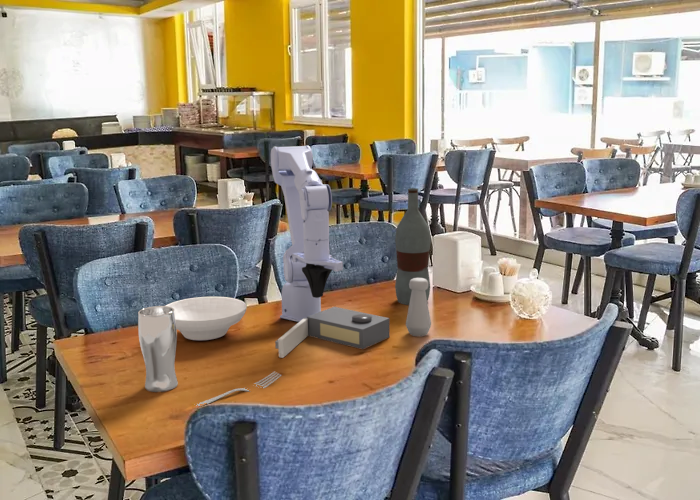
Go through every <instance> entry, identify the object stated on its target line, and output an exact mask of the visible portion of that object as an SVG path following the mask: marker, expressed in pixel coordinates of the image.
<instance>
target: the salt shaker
mask: <svg viewBox="0 0 700 500" xmlns="http://www.w3.org/2000/svg"><path fill="white" fill-rule="evenodd" d="M409 287H410V289H412V292H411V298H410V303H409V305H408V309H407V316H406V320H405V326H406V329H407V331H408V334H409V335H411V336H413V337H424V336H427V335H428V334H429V331H430V329H431V326H432V321H431V315H430V310H429V305H428V301H427V298H426V292H425V290H426V289H428V281H427V280H426V279H424V278H413V279H411V280H410V283H409Z"/></svg>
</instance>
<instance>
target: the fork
mask: <svg viewBox="0 0 700 500" xmlns="http://www.w3.org/2000/svg"><path fill="white" fill-rule="evenodd" d="M280 377H282V374H280V373H278V372H276V371H272V373H270V374H269V375H267V376H265V377H264V378H262V379H260V380H258V381H256V382H254V383H253V384H256V386H255V387H258V386H257V385H259V386H262V387H263V389H266V388H267V387H269V386H271V384H273V383H274V382H276V381H277V380H278V379H279V378H280ZM245 388H246V387H243V388H240V387H239V388H235V389H232V390H229V391H226V392H225V393H221V394H218V395H217V396H214V397H212V398H210V399H206V400H204V401H201V402H199V404H198V403H196V404H197V405H198V406H200V404H204V403H207V405H209V404H211V403H213V402H215V401H217V400H219V399H221V398H224V397H226V396H229V395H230V394H232V393H235V392H238V391H239V392H241V391H242V392H243V391H244V392H250V391H249V390H250V389H249V390H247V389H248V388H247V389H245ZM197 405H196V406H197Z"/></svg>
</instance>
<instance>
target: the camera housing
mask: <svg viewBox="0 0 700 500" xmlns="http://www.w3.org/2000/svg"><path fill="white" fill-rule="evenodd" d="M307 318H308V336H307V337H311V338H316V339H320V340H323V341H327V342H332V343H335V344H340V345H345V346H349V347H353V348H356V349H360V350H364V349H367V348H370V347H371V346H373V345H376V344H377V343H380V342H382V341H384V340H386V339H388V338H390V317H385V316H381V315H380V316H379V315H376V314H372V313H366V312H362V311H357V310H351V309H348V308H342V307H337V306H333V307H330V308H327V309H323V310H321V312H318V313H316V314H313V315H310V316H308V317H307Z"/></svg>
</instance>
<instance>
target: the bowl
mask: <svg viewBox="0 0 700 500" xmlns="http://www.w3.org/2000/svg"><path fill="white" fill-rule="evenodd" d="M165 306H168V307H172V308H173V309H174V314H175V320H176V329H177V331H179V332H180V333H181V334H182V336H183V337H184V338H185V339H188V340H192V341H209V340H214V339H219V338H221V337H223V336H225V335H226V334H227V332H228V331H229V329H230V327H231V326H234V325H236V324H238V323H239V322H240V321H241V320H242V318H243V317H244V315H245V313H246V312H247V303H246V302H245V301H243V300H241V299H237V298H234V297H229V296H228V297H226V296H201V297H200V296H199V297H198V296H197V297H191V298H184V299H181V300H177V301H173V302H170V303H168V304H166V305H165Z"/></svg>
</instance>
